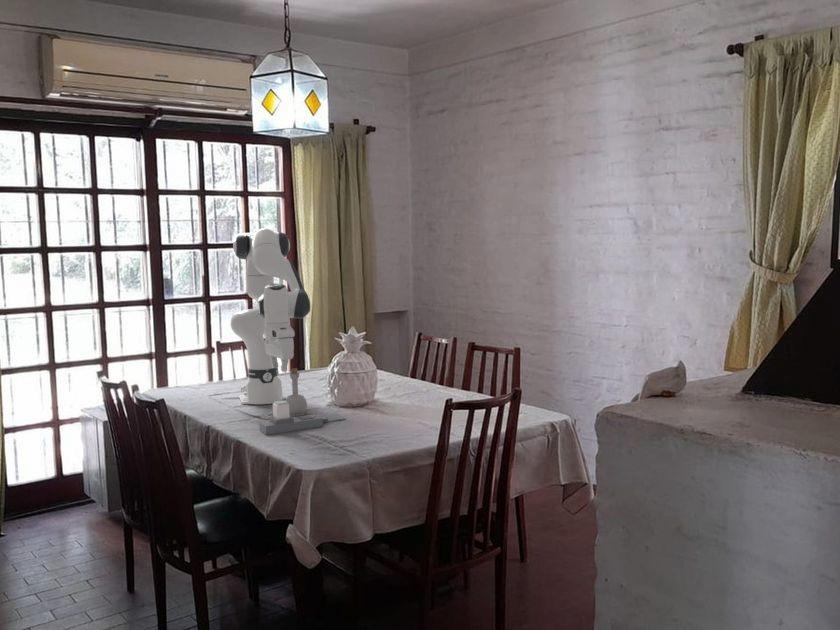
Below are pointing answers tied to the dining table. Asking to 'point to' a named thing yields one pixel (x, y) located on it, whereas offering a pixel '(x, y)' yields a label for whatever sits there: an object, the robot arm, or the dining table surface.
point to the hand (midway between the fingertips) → (279, 369)
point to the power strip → (290, 424)
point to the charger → (280, 410)
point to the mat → (332, 417)
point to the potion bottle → (296, 397)
